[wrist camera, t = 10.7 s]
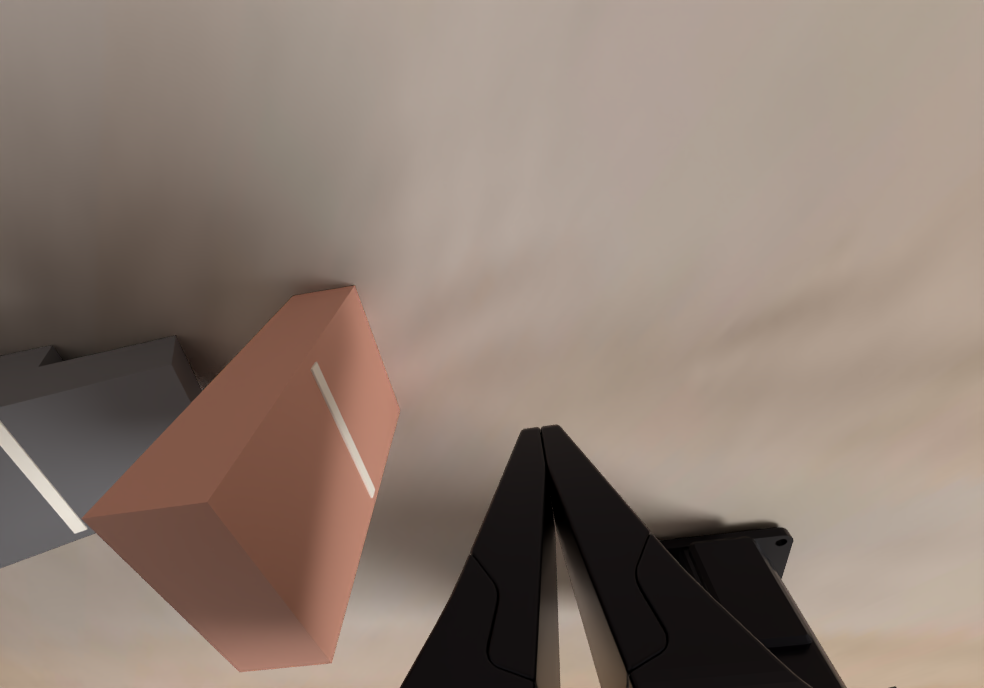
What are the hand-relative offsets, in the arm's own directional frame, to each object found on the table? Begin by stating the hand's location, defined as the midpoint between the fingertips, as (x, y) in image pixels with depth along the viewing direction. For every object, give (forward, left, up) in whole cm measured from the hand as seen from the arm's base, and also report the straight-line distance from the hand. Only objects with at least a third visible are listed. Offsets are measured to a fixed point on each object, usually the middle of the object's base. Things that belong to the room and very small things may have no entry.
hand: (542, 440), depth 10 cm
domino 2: (-1, +11, -4) cm, 12 cm away
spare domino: (0, +6, -5) cm, 8 cm away
